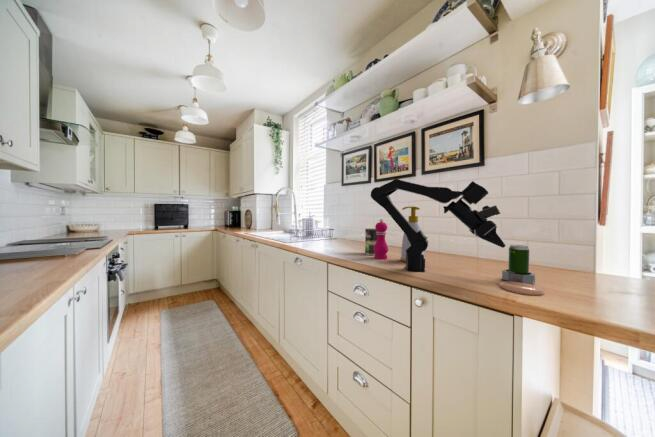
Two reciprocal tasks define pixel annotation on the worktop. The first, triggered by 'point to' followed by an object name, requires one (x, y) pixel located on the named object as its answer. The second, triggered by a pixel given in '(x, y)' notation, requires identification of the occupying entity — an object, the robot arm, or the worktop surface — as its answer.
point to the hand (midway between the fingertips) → (501, 245)
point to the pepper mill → (381, 241)
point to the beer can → (518, 259)
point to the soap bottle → (405, 243)
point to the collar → (518, 277)
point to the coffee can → (370, 241)
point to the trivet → (522, 288)
